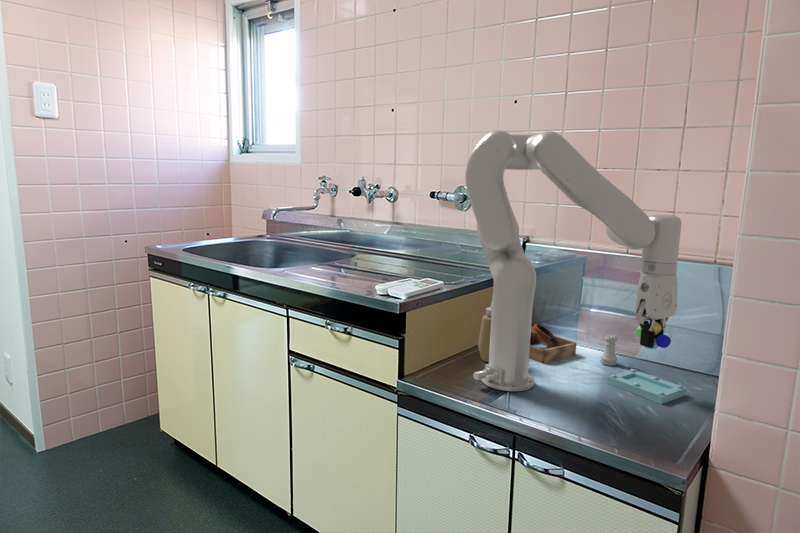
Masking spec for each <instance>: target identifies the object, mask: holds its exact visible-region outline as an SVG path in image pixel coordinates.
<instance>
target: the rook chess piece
mask: <svg viewBox="0 0 800 533" xmlns="http://www.w3.org/2000/svg"><path fill="white" fill-rule="evenodd" d="M617 338H618V337H617V335H616V334H613V333H612V334H611V333H606V334H605V336H604V340H605V343H604V346H605V348H604V350H603V353H602V355H601V356H600V360H599V362H600V363H601V365H603V366H609V367H615V366H616V365H618V358H617V355H616V348H615V347H616V345H617V344H616V342H617V341H618V339H617Z"/></svg>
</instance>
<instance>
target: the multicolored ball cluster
mask: <svg viewBox="0 0 800 533" xmlns="http://www.w3.org/2000/svg"><path fill="white" fill-rule="evenodd" d="M649 324H650V322H649ZM661 329H662V328H661V325H660V324H659V323H657V322H655V324H654V330H653V331H655V335H657V334H658V333H659V332H660V331H661ZM635 335H636V337H637V338H639V339H640V337H641V329H640V326H638V327H637V329H636V330H635ZM671 343H672V340H671V338H670V337H669V335H666V334H663V335H659V336H658V337H657V338H656V339H655V340H654V347H653V348H649V347H645V346H643V347H644V348H646V349H647V350H656V349H658V348H661V349H662V348H663V349H666V348H668V347H669V346H670V345H671Z"/></svg>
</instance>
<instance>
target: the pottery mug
mask: <svg viewBox="0 0 800 533" xmlns="http://www.w3.org/2000/svg"><path fill="white" fill-rule="evenodd" d="M536 335H537V337H538V338H540V339H541V340H544V341H545V342H546V343H548V346H547V348H546V349H549V348H553V341H554V340H555V337H554V336H555V335H554V334H553V333H552V332H551V331H550V330H549V329H547V328H546V327H544V326H543V325H541V324H538V323H534V324H533V326H531V338H530V345H532V344H533V342H535V341H534V340H535V337H536Z"/></svg>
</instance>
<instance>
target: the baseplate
mask: <svg viewBox="0 0 800 533" xmlns="http://www.w3.org/2000/svg"><path fill="white" fill-rule="evenodd" d="M607 384H608V385H610V386H613V387H614V388H615V387H616V388H618V389H620V390H623V391H626V392H628V393H631V394H634V395H636V396H639V397H641V398H645V399H647V400H650V401H652V402H654V403H656V404H660V405H663V404H667V403H668V402H672V401H673V400H677V399H680V398H682V397H685V396H686V395H687V387H685V386H684V385H682V384H676V383H673V382H671V381H668V380H665V379H661V378H659V377H658V376H653V375H650V374H647V373H644V372H642V371H638V370H637V369H635V368H630V369H629V370H626V371H622V372H619V373H614V374H611V375H609V376H607Z"/></svg>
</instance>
